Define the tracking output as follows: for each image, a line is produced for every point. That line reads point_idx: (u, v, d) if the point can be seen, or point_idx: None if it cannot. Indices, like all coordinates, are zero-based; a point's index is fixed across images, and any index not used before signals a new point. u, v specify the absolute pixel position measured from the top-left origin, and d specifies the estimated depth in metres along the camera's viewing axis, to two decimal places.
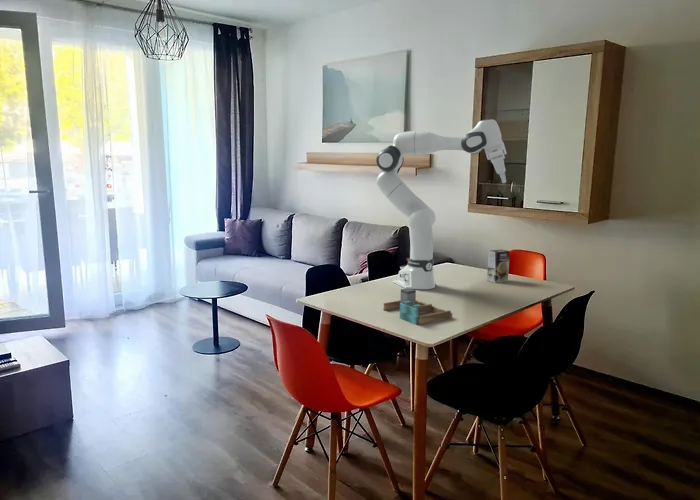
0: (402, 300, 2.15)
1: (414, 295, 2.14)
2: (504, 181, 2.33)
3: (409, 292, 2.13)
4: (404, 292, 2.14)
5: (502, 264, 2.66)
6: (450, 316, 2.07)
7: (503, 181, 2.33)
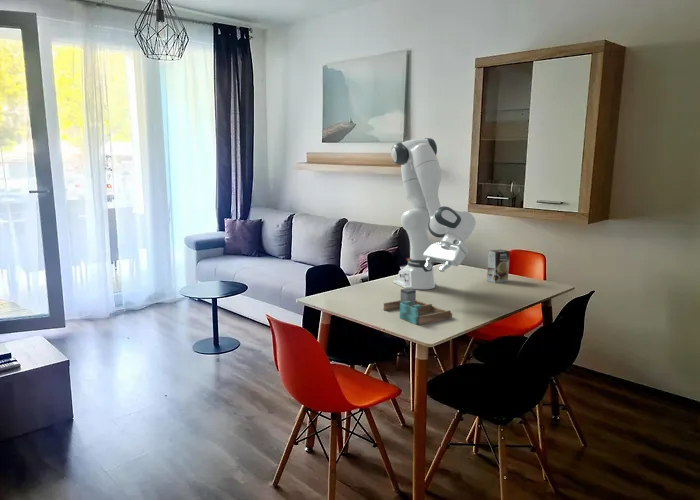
0: (402, 300, 2.15)
1: (414, 295, 2.14)
2: (443, 270, 2.16)
3: (409, 292, 2.13)
4: (404, 292, 2.14)
5: (502, 264, 2.66)
6: (450, 316, 2.07)
7: (442, 269, 2.16)
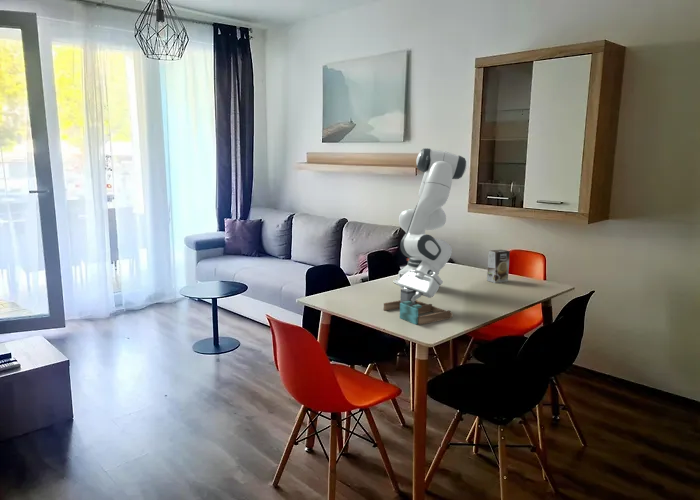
0: (402, 300, 2.15)
1: None
2: (413, 300, 2.13)
3: (409, 292, 2.13)
4: (404, 292, 2.14)
5: (502, 264, 2.66)
6: (450, 316, 2.07)
7: (413, 299, 2.12)
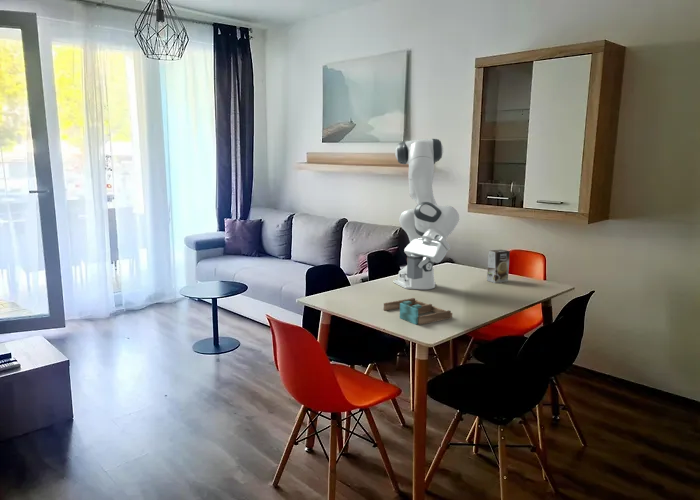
0: (409, 266, 2.09)
1: None
2: (420, 266, 2.06)
3: (416, 257, 2.06)
4: (411, 258, 2.07)
5: (502, 264, 2.66)
6: (450, 316, 2.07)
7: (420, 265, 2.06)
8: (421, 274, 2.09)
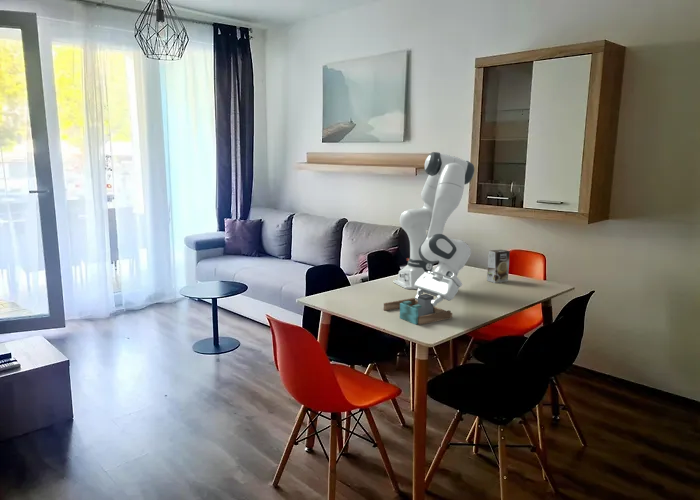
0: None
1: None
2: (434, 304, 2.02)
3: (427, 298, 2.04)
4: (421, 298, 2.05)
5: (502, 264, 2.66)
6: (450, 316, 2.07)
7: (434, 303, 2.02)
8: None
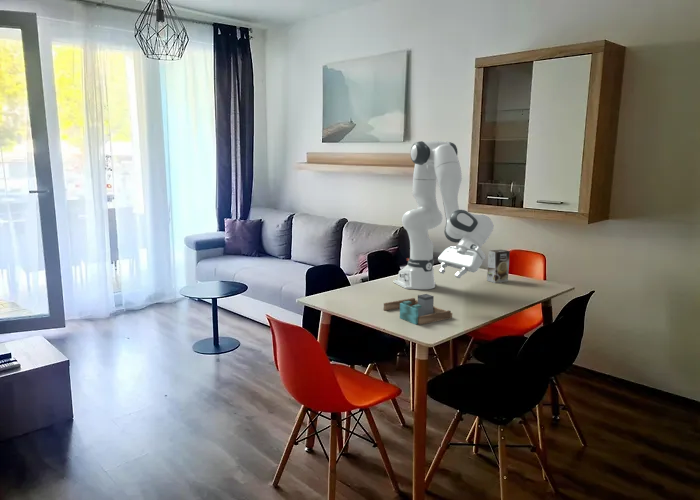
0: None
1: (432, 301, 2.05)
2: (459, 276, 2.07)
3: (427, 298, 2.04)
4: (421, 298, 2.05)
5: (502, 264, 2.66)
6: (450, 316, 2.07)
7: (459, 275, 2.07)
8: None
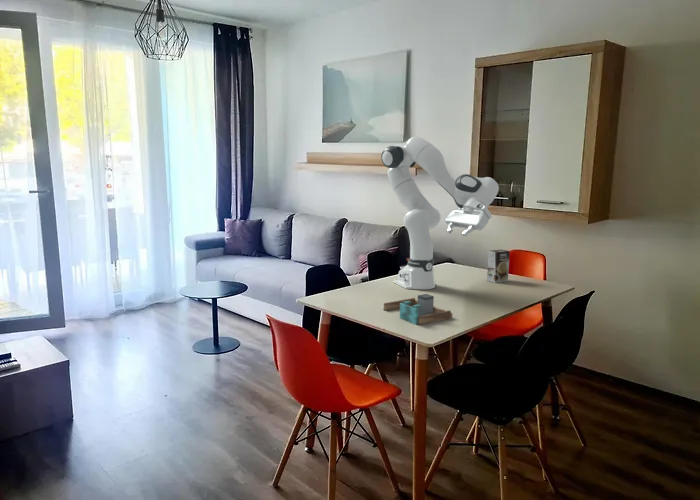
0: None
1: (432, 301, 2.05)
2: (466, 234, 2.14)
3: (427, 298, 2.04)
4: (421, 298, 2.05)
5: (502, 264, 2.66)
6: (450, 316, 2.07)
7: (466, 233, 2.14)
8: None
